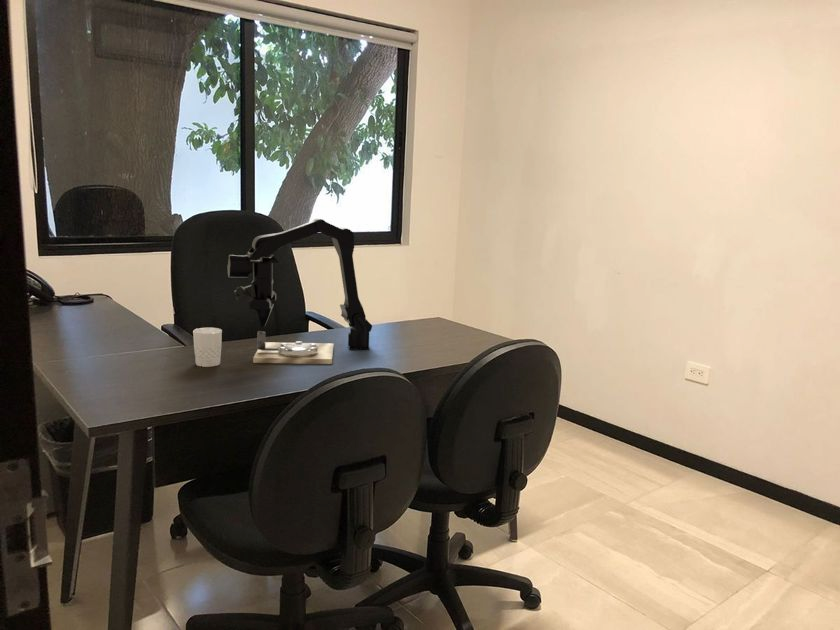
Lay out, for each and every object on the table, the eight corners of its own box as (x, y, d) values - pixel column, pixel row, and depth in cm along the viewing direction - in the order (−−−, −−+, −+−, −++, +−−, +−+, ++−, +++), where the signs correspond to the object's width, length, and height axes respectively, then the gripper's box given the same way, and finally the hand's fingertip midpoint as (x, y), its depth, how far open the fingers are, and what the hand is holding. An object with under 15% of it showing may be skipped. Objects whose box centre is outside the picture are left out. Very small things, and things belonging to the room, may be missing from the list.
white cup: (187, 364, 185) (186, 330, 184) (208, 359, 192) (207, 326, 190) (207, 369, 182) (207, 334, 180) (228, 363, 189) (227, 330, 187)
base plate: (333, 347, 213) (333, 343, 212) (331, 363, 193) (331, 358, 193) (262, 346, 210) (262, 341, 210) (253, 362, 190) (253, 357, 190)
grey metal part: (318, 347, 205) (318, 328, 204) (317, 357, 193) (317, 337, 192) (259, 347, 203) (259, 327, 201) (255, 356, 191) (255, 336, 190)
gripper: (241, 272, 206) (241, 320, 209) (230, 280, 188) (230, 333, 191) (276, 273, 207) (276, 321, 210) (269, 281, 189) (269, 334, 192)
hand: (262, 327), depth 201 cm, fingers closed
